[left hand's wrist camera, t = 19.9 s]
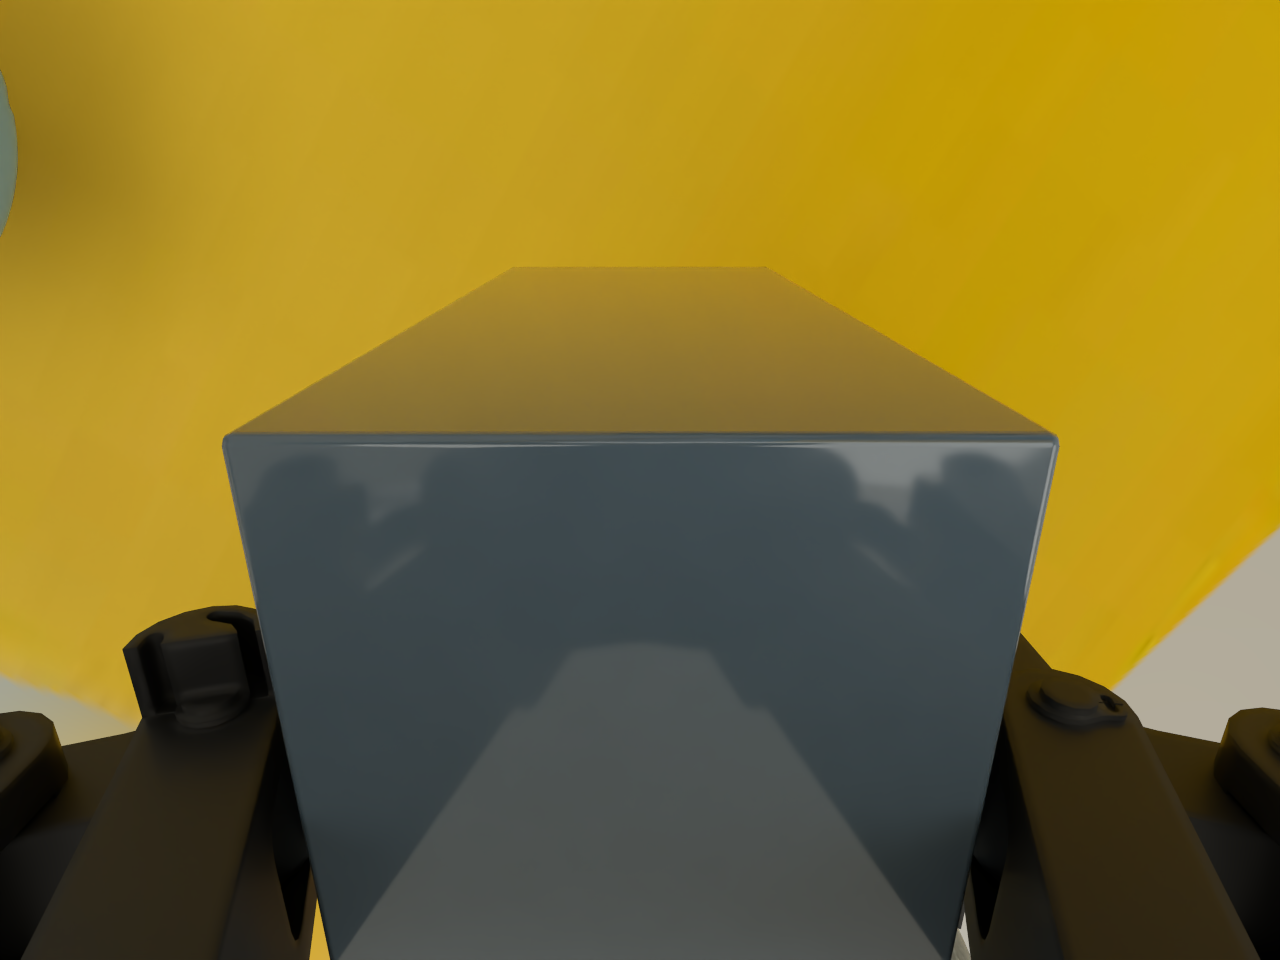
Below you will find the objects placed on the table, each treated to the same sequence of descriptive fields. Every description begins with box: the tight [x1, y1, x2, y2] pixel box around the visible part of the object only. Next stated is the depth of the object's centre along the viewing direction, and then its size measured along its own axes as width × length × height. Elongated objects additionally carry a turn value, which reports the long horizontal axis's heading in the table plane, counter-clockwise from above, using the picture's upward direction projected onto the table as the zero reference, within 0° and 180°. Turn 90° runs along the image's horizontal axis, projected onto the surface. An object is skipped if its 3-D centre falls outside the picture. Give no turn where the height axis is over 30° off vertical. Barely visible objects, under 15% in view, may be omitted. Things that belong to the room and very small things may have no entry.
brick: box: [222, 267, 1059, 960], centre depth 12 cm, size 6×9×12 cm, turn 0°
